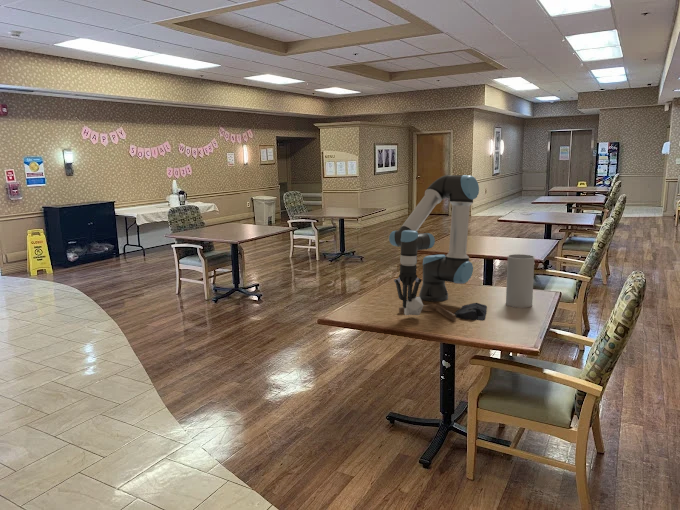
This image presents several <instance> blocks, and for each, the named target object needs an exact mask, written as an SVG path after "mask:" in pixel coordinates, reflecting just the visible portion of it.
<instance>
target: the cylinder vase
mask: <svg viewBox="0 0 680 510" xmlns="http://www.w3.org/2000/svg"><path fill="white" fill-rule="evenodd" d="M506 266H507V267H506V269H507V270H506V289H505V290H506V291H505V292H506V294H505V305H507V306H508V307H511V308H513V307H514V308H520V309H526V308H530V307H532V306H533V299H534V298H533V296H534V295H533V293H534V274H535V256H534V255H531V254H523V253H522V254H521V253H520V254H519V253H518V254H517V253H516V254H514V253H513V254H508V255H507V265H506Z"/></svg>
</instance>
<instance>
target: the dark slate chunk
mask: <svg viewBox="0 0 680 510" xmlns="http://www.w3.org/2000/svg"><path fill="white" fill-rule="evenodd" d="M487 310H488V307H487V305H486V304H482V303H478V302H473V303H469V304H464V305H461V307H460V309H459V308H458V309H457V310H456V311H455V312H454V313H453V314H455V315H456V319H461V320H469V321H470V320H471V321H485V319H486V316H487Z"/></svg>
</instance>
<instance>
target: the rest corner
mask: <svg viewBox="0 0 680 510" xmlns="http://www.w3.org/2000/svg"><path fill="white" fill-rule="evenodd" d="M423 305H424V306H423V308H422V310H421V313H422V312H432V311H436V312H438V313H440V314H441V315H443V316H444V317H446V318H447V319H449V320H450V321H452V322H457V321H456V320H457V318H456V315H455V314H454V313H453V312H452V311H450V310H448V309H446V308H444V307H443V306H441V305H440V304H438V303H433V304H423ZM398 314H402V315H404V308H403V306H400V307H398Z"/></svg>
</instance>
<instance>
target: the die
mask: <svg viewBox="0 0 680 510" xmlns="http://www.w3.org/2000/svg"><path fill="white" fill-rule="evenodd" d="M407 300H408V299H407ZM424 305H425V304H424V303H423V300H422V299H421V298H420V297H419V296H416V298H412V301H409V304H408V306H407V307H408V310H409V315H410V316H420V315H421V313H422V312H421V310H422V308H423V306H424ZM409 315H408V316H409Z"/></svg>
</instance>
